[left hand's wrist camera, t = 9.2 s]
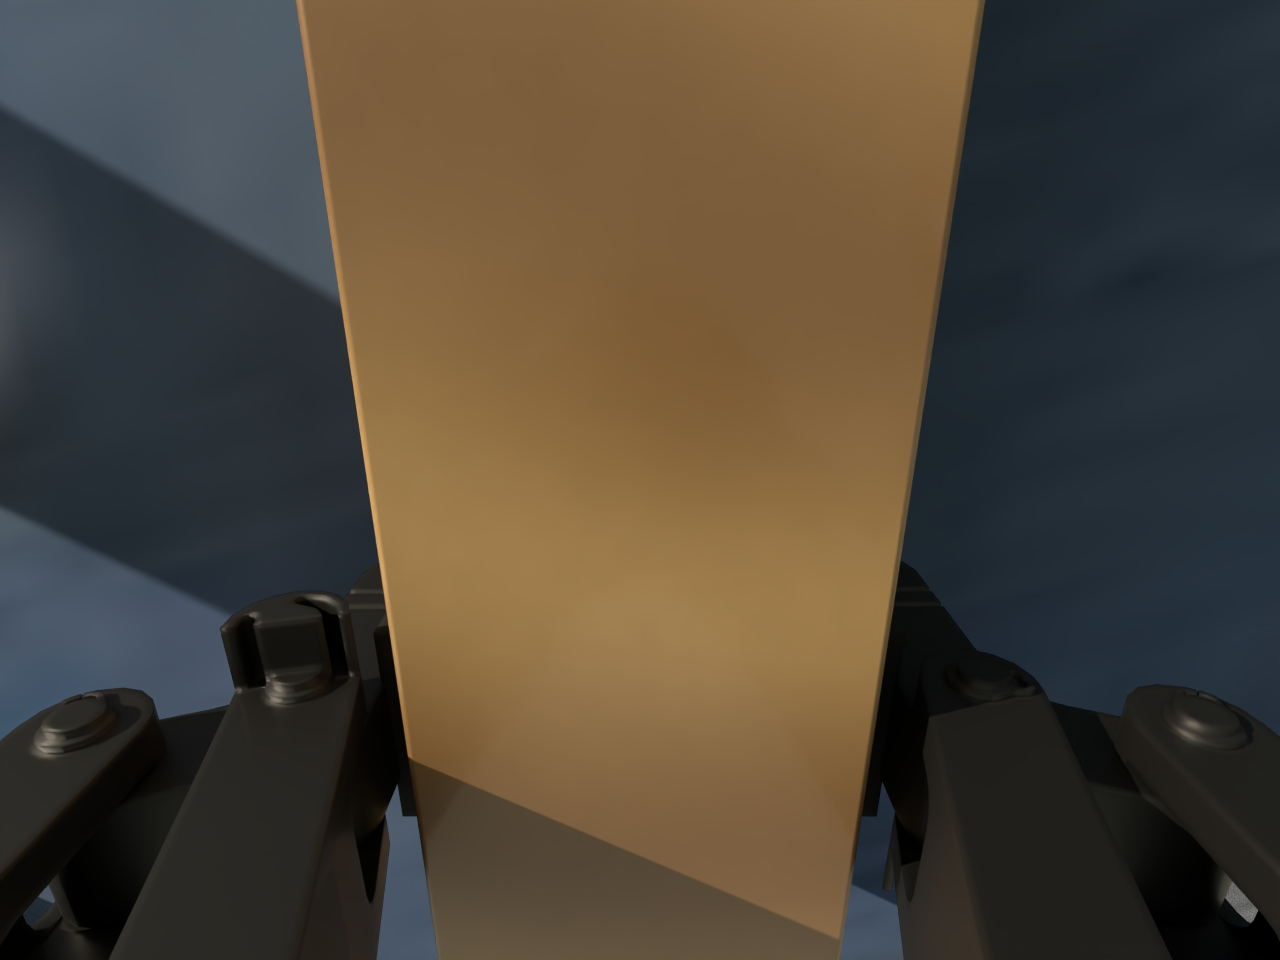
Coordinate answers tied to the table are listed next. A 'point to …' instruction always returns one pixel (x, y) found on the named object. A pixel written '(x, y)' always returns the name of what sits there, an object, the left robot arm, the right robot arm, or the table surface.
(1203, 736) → the left robot arm
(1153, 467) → the table surface
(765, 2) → the beam
